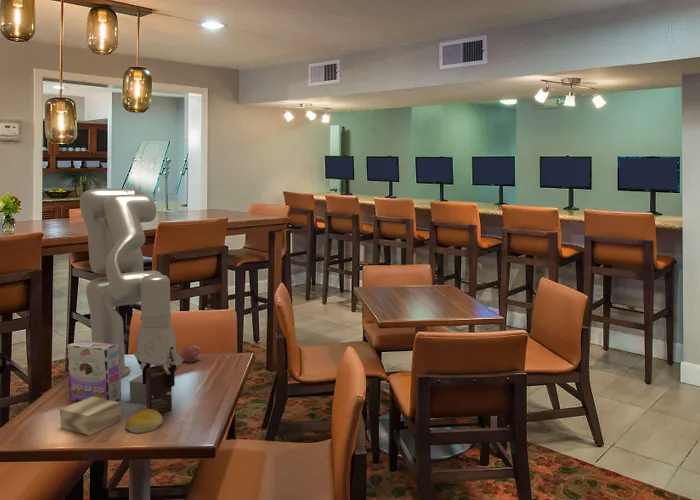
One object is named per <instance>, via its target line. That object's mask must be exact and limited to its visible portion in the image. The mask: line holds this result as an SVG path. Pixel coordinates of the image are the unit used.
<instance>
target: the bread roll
mask: <svg viewBox="0 0 700 500" xmlns="http://www.w3.org/2000/svg"><path fill="white" fill-rule="evenodd" d="M163 422H164V419H163V416H162V414H161V412H157V411H156V410H153V409H147V408H144V409H140V410H139V411H137V412H136V413H135V414H134V415H132V416H130V417H129V418H128V419H126V422H125V428H126V429H127V430H128V431H129V432H131V433H134V434H142V433H149V432H152V431H155V430H157V429H158V428H159V427H160V426H161V425H162V424H163Z"/></svg>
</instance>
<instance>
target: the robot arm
mask: <svg viewBox="0 0 700 500" xmlns="http://www.w3.org/2000/svg"><path fill="white" fill-rule="evenodd" d="M79 207H80V208H79V209H80V214H81V215H82V216H81V217H82V218H83V222H84V224H85V227H86V230H87V240H88V241H87V243H88V244H87V245H88V256H89V257H88V258H89V259H88V260H89V265H90V269H91V270H92V271H93V273H96V274H106V277H105V276H104V277H98V278H94V279H92V280H90V281H89V282H88V283H87V284H86V288H85V294H86V299H87V304H88V309H89V315H90V317H89V318H90V329H91V330H90V331H91V332H90V333H91V342H101V343H111V344H119V359H120V379H121V378H123V377H125V376H128V375H129V374H130V373H131V368H130V367H129V366H127V365H126V361H125V341H124V340H125V339H124V338H125V337H124V334H125V333H124V321H123V317H122V315H120V314H121V313H119V312H118V311H117V310H116V309H115V307H119V306H126V305H127V306H128V305H133V304H138V303H140V309H141V312H140V313H141V315H140V316H139V319H140V321H141V325H139V329H138V334H137V348H136V351H135V352H133V356H134V357H135V359H136V360H137V363H138V365H139V369H140V370H142V371H141V373H142V374H141V375H142V377H143V384H146V368H148V367H152V365H154V366H163V367H164V369H165V371H166V374H165V375H164V380H165V388H166V389H168V388H170V387H174V386H175V384H176V381H175V373H176V372H177V370H178V368H180V366H181V364H182V363H183V362H184V361H183V360H184V359H181V357H180V356H179V355H178V354H179V353H178V352H177V347H176V346H177V345H176V337H175V331H174V327H173V326H172V313H171V310H172V309H171V306H172V305H171V283H170V282H171V281H170V278H169V277H168V276H167V275H166V274H162V273H161V272H160V271H158V270H144V260H143V259H144V258H143V252H142V249H141V247H143V246H144V244H145V242H146V236H145V232H144V229H143V227H142V224H141V223H151V222H153V221H154V220H155V219H156V216H157V207H156V203H155V201H154V199H153V198H152V196H150V195H149V194H148V193H146V192H143V191H142V190H139V189H137V188H105V187H104V188H92V189H88V190H84V191H83V192H82V194H81V196H80V199H79ZM169 367H170V368H169Z"/></svg>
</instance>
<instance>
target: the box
mask: <svg viewBox="0 0 700 500" xmlns="http://www.w3.org/2000/svg"><path fill="white" fill-rule="evenodd" d="M169 368H170V366H169ZM165 374H166V371H165V369H164V367H163V366H160V365H154V366H150V367H148V368H146V403H145V405H146V409H153V410H156V411H157V412H159V413H162V412H169V411H172V410H173V408H172V407H173V405H172V404H173V402H172V401H173V398H172V393H173V392H172V390H173V389H172V387H173V386H172V387H170V388H168V389H166V388H165V380H164V375H165Z"/></svg>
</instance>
